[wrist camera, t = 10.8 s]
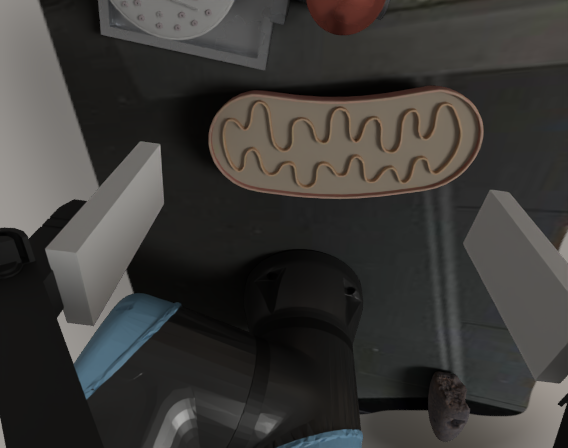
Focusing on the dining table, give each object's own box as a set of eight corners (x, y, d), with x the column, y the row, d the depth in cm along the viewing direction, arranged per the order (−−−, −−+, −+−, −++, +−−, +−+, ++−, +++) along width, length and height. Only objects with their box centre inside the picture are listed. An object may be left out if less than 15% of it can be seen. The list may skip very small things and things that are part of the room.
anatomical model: (475, 69, 33) (497, 87, 29) (451, 171, 39) (466, 198, 35) (212, 77, 35) (199, 95, 31) (227, 173, 41) (217, 199, 37)
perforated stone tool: (450, 413, 66) (462, 457, 60) (418, 413, 67) (427, 456, 61) (464, 361, 57) (480, 407, 52) (427, 361, 58) (439, 407, 52)
